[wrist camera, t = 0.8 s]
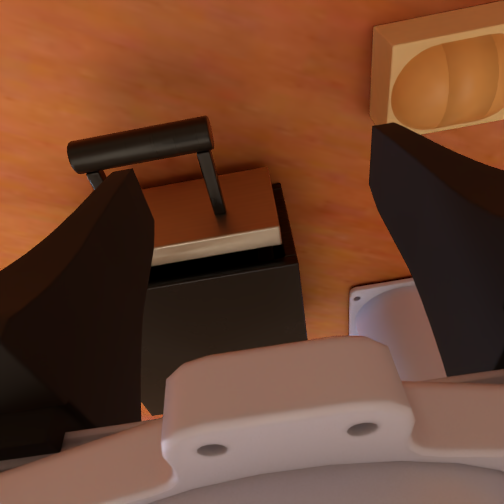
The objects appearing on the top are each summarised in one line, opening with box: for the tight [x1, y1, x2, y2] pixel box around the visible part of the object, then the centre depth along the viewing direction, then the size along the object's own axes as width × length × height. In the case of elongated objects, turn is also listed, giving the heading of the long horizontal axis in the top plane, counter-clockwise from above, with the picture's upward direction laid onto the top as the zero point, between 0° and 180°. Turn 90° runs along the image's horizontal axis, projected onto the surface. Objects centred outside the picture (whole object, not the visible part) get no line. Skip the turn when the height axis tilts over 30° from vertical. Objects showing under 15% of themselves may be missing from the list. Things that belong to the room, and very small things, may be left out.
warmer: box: [141, 183, 307, 416], centre depth 27 cm, size 13×12×7 cm
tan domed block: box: [369, 0, 504, 135], centre depth 18 cm, size 4×6×4 cm
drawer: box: [67, 116, 282, 280], centre depth 23 cm, size 17×10×5 cm, turn 9°
